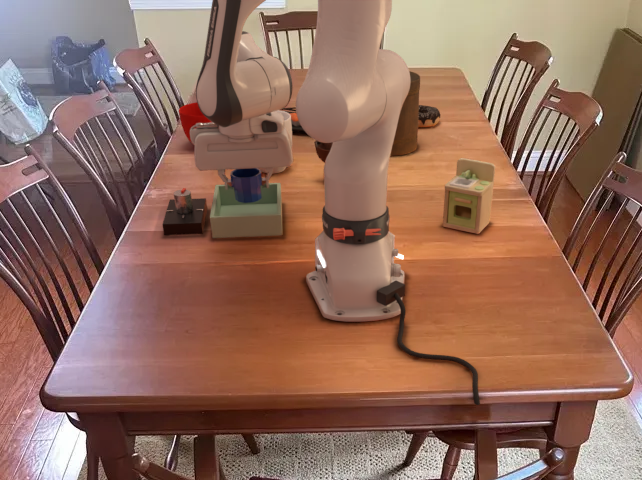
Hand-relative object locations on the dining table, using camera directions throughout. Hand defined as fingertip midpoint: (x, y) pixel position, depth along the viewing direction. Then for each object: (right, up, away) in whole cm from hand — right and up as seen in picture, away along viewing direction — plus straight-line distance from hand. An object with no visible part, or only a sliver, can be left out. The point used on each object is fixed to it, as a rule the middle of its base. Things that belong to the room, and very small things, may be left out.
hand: (247, 188), depth 149 cm
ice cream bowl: (+19, +8, +23) cm, 31 cm away
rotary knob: (-14, -4, +2) cm, 15 cm away
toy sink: (+47, -7, +3) cm, 48 cm away
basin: (0, -6, +5) cm, 8 cm away
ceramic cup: (-17, +23, +42) cm, 50 cm away
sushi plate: (+5, +40, +63) cm, 75 cm away
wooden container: (+33, +24, +43) cm, 59 cm away
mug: (+1, +13, +30) cm, 32 cm away
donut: (+43, +37, +59) cm, 82 cm away
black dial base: (-14, -7, +4) cm, 16 cm away
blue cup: (0, -2, +1) cm, 2 cm away
